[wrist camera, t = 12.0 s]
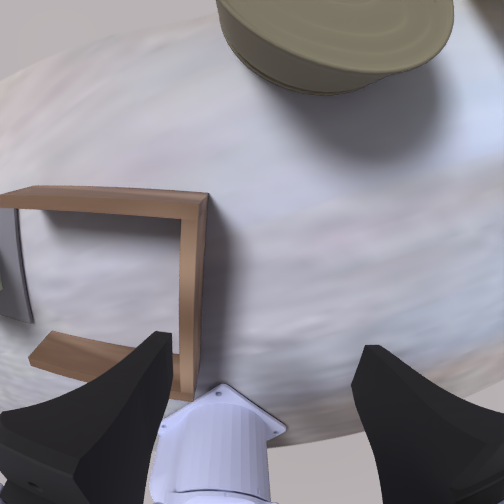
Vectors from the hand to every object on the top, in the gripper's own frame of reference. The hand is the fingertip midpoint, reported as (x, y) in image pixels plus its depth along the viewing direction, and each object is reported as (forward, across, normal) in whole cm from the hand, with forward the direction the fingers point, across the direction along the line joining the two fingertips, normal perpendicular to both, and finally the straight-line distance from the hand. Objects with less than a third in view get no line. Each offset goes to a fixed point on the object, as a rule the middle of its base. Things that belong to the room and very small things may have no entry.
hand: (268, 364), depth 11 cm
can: (+10, -2, -17) cm, 20 cm away
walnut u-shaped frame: (+9, +10, +2) cm, 14 cm away
